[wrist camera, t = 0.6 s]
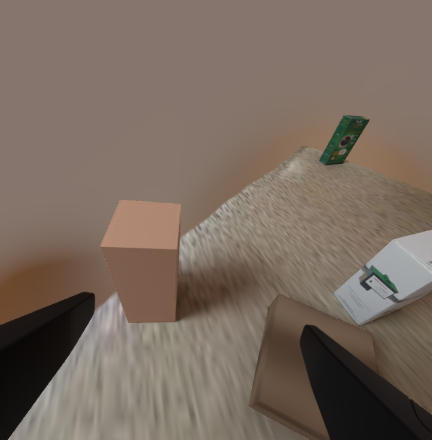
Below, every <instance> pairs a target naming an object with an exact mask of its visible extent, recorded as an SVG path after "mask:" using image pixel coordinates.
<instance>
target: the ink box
mask: <svg viewBox="0 0 432 440" xmlns="http://www.w3.org/2000/svg"><path fill="white" fill-rule="evenodd" d="M430 292H432V230H429V231H425V232H421V233H417V234H413V235H409V236H405V237H401V238H397V239H393V240H392V241H391V242H390V243H389V244H388V245H386V246H385V247H384V248H383V249H382V250H381V251H380V252H379V253H378V254H376V255H375V256H374V257H373V258H372V259H371V260H370V261H369V262H368V263H366V264H365V265H364V266H363V267H362V268H361V269H360V270H359V271H358V272H356V273H355V274H354V275H353V276H352V277H351V278H350V279H349V280H348V281H346V282H345V283H344V284H343V285H342V286H341V287H340V288H339V289H338V290H336V291H335V292H334V294H335V296H336V297H337V299H338V300H339V301H340V303H341V304H342V305H343V307H344V308H345V309H346V311H347V312H348V313H349V314H350V316H351V317H352V318H353V320H354V321H355V322H356V323H357V325H360V326H361V325H364V324H366V323H368V322H370V321H373V320H375V319H377V318H379V317H382V316H384V315H386V314H388V313H391V312H393V311H395V310H398V309H400V308H402V307H404V306H406V305H408V304H410V303H412V302H414V301H416V300H417V299H419V298H421V297H423V296H425V295H427V294H428V293H430Z"/></svg>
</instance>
